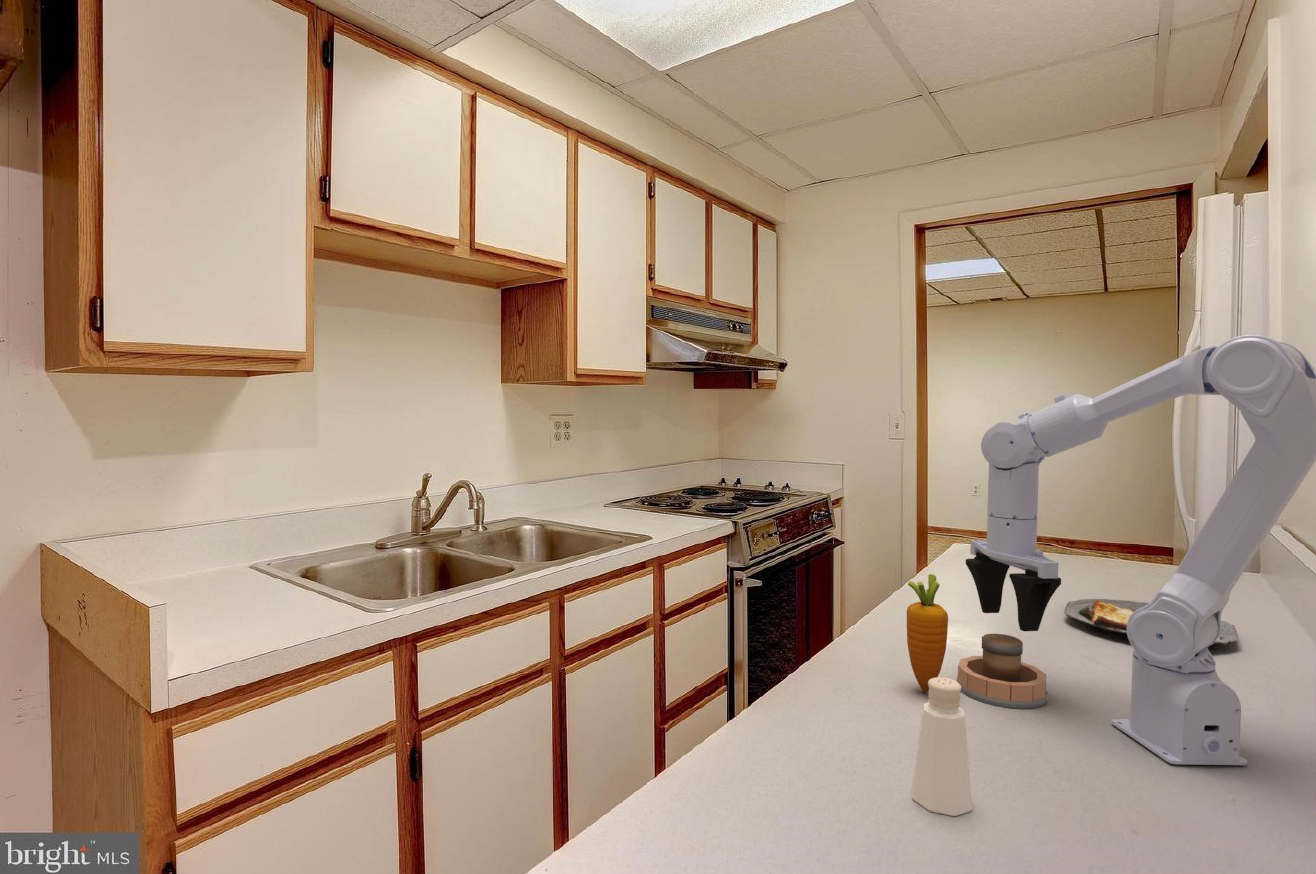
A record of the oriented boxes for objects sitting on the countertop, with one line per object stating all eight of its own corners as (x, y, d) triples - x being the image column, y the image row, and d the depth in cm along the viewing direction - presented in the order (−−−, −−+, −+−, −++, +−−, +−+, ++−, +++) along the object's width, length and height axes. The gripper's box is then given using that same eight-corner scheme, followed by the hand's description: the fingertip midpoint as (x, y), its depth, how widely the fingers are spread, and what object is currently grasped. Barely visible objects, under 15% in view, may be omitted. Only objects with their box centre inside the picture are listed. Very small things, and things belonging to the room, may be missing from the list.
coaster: (1065, 709, 83) (1066, 686, 83) (979, 708, 83) (980, 685, 83) (1019, 676, 93) (1020, 656, 93) (943, 675, 93) (944, 655, 93)
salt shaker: (956, 783, 66) (959, 670, 65) (985, 816, 60) (989, 694, 60) (900, 784, 65) (903, 670, 65) (924, 817, 60) (928, 694, 60)
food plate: (1243, 665, 98) (1243, 641, 98) (1056, 634, 112) (1056, 613, 112) (1231, 628, 118) (1232, 607, 118) (1074, 605, 132) (1074, 587, 132)
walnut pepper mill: (1030, 691, 86) (1031, 643, 86) (998, 694, 85) (999, 646, 85) (1003, 677, 91) (1004, 632, 90) (972, 679, 90) (973, 634, 89)
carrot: (920, 702, 84) (923, 581, 84) (896, 686, 89) (899, 572, 89) (955, 698, 86) (958, 579, 85) (929, 683, 90) (932, 570, 90)
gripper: (1082, 525, 81) (1079, 638, 82) (1004, 508, 96) (1001, 604, 96) (1028, 525, 80) (1025, 640, 81) (957, 508, 94) (954, 606, 95)
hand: (1009, 621), depth 88 cm, fingers open, 7 cm apart
